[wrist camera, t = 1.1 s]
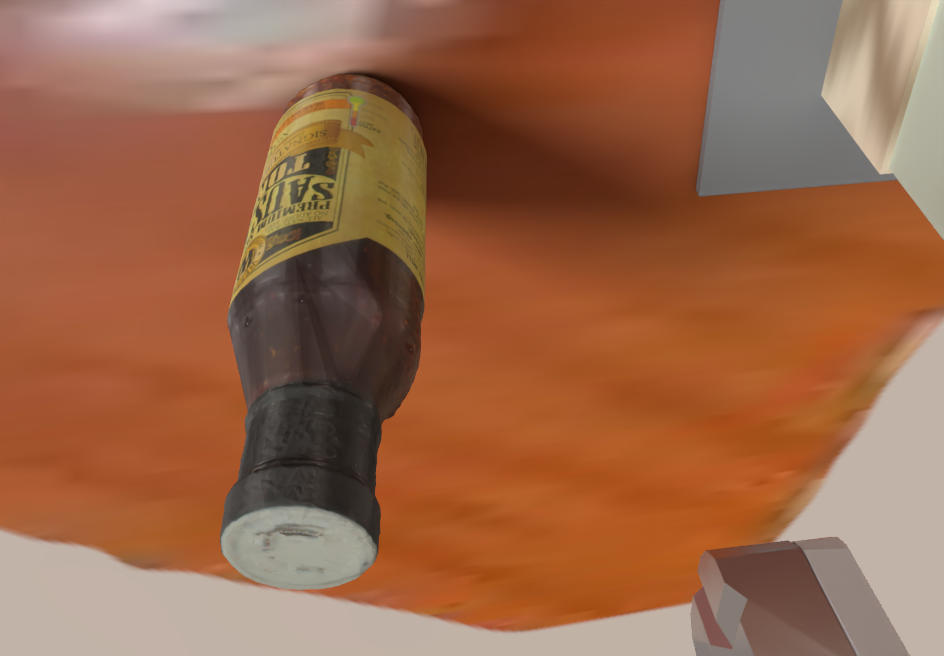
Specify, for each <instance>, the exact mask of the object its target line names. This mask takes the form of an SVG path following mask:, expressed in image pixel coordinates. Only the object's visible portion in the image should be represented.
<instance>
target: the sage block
mask: <svg viewBox="0 0 944 656" xmlns="http://www.w3.org/2000/svg"><path fill="white" fill-rule="evenodd" d="M889 169H890V170H891V172H892V173H893V174H894V176H895V177H896V178H897V179H898V181H899V182H900V183H901V185H902V186H903V187H904V189H905V190H906V191H907V193H908V194H909V195H910V196H911V198H912V199H913V200H914V202H915V203H916V204H917V206H918V207H919V208H920V210H921V211H922V212H923V213H924V215H925V216H926V217H927V219H928V220H929V221H930V223H931V224H932V225H933V227H934V228H935V229H936V231H937V232H938V233H939V234H940V236H941V237H942V238H943V240H944V0H939V4H938V7H937V10H936V14H935V17H934V20H933V24H932V27H931V30H930V33H929V37H928V40H927V43H926V47H925V50H924V53H923V56H922V60H921V63H920V66H919V70H918V73H917V76H916V79H915V83H914V86H913V89H912V93H911V96H910V99H909V102H908V106H907V109H906V112H905V116H904V119H903V122H902V126H901V129H900V132H899V135H898V139H897V142H896V145H895V149H894V152H893V155H892V158H891V162H890V165H889Z"/></svg>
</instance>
